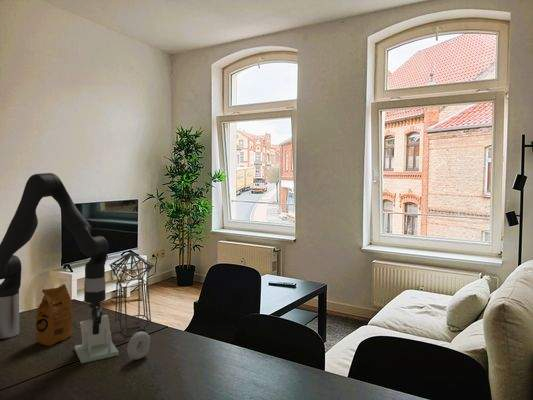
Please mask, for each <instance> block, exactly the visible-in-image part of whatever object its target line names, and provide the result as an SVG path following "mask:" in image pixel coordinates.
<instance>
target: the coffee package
mask: <svg viewBox="0 0 533 400" xmlns="http://www.w3.org/2000/svg"><path fill="white" fill-rule="evenodd" d="M41 292H42V293H43V296H42V299H41V302H40V304H39V306H38V308H37V310H36V315H35V341H36V343H37V344H41V345H44V346H49V347H50V346H53V345H55V344H56V343H58V342H64V341H66V340H67V339H68V338H70V337H72V333H73V332H72V331H73V329H72V327H73V326H72V325H73V309H72V308H73V307H72V298H71V297H70V296H71V295H70V293H69V291H68V288H67V286H66V283H62V284H61V285H59V286H57V287H53V288H52V287H51V288H45V289H42V290H41Z"/></svg>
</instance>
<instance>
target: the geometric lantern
mask: <svg viewBox="0 0 533 400" xmlns="http://www.w3.org/2000/svg"><path fill="white" fill-rule="evenodd" d="M129 259H130V262H129ZM136 259H137V260H136ZM128 262H129V263H128ZM140 262H142V263H143V265H144V267H143V268H139V263H140ZM133 264H135V265H133ZM127 265H130V268H127V267H126V266H127ZM109 266H110V269H111V271H112V272H113V275H114V276H115V278H116V279H117V281H116V283H115V285H116V286H115V287H116V289H115V311H114V312H115V313H114V315H115V316H114V322H115V325H117V327H118V328H119V329H120V332H121V333H122V334H124V335H125V336H126V337H132V336H133V335H134V334H135V333H133V334H131V332H134V331H139V330H142V332H146V327H148V325H150V324H151V323H152V319H151V318H152V317H151V306H150V305H151V304H150V303H151V302H150V293H149V291H150V290H149V276H147V279H146V280H145V279H144V277H145V275H146V273H147V274H149V272H150V271H151V270H152V268H153V267H155V265H154V264H153V263H151V262H149V261H148V260H146V259H145V258H143V257H141V256H140V255H138V254H137V253H136V252H128V253H127V254H125V255H123V256H122V257H120V258H118V259H117V260H115V261H114V262H113V261H112V263H109ZM136 271H137V273H136ZM140 271H142V272H140ZM119 272H121V273H122V274H121V276H120V278H119V277H118V274H119ZM127 272H130V274H129V273H127ZM133 273H134V274H135V275H133ZM124 274H125V275H127V276H129V277H130V278H129V279H126V280H122V279H123V276H124ZM141 276H142V277H141ZM135 277H136V278H135ZM135 280H137V281H138V282H137V283H138V284H137V285H130V286H128V285H129V283H130V282H131V281H135ZM140 281H141V282H140ZM122 282H123V283H124V282H127V283H126V285H124V286H123V285H122ZM140 283H141V284H140ZM118 286H119V287H118ZM134 287H137V288H138V289H137V290H138V293H137V294H138V303H137V304H138V305H137V306H138V307H137V309H138V311H137V312H138V313H137V314H135V315H131V316H128V315H127V314H128V313H127V295H126V294H127V293H126V292H127V291H126V289H127V288H134ZM118 288H119V289H118ZM140 288H141V289H140ZM140 290H141V291H142V305H143V314H141V313H140V304H141V302H140V301H141V299H140V293H141V291H140ZM118 293H119V294H118ZM123 293H124V297H123ZM123 298H124V316H125V317H122V312H123V311H122V308H123V307H122V306H123V304H122V303H123ZM117 310H118V311H117ZM117 312H118V314H117ZM117 315H118V316H117ZM135 317H136V318H137V321H136V322H132V323H128V319H129V318H131V319H132V318H135ZM140 317H142V318H141V319H140ZM144 318H145V319H146V323H144V324H143V323H141V322H142V321H143V319H144ZM124 319H125V324H124V325H123V324H122V320H124ZM139 319H140V321H139ZM134 324H136V325H134ZM130 325H132V326H130ZM133 325H134V326H133ZM135 328H136V329H135ZM131 329H132V330H131Z"/></svg>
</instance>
